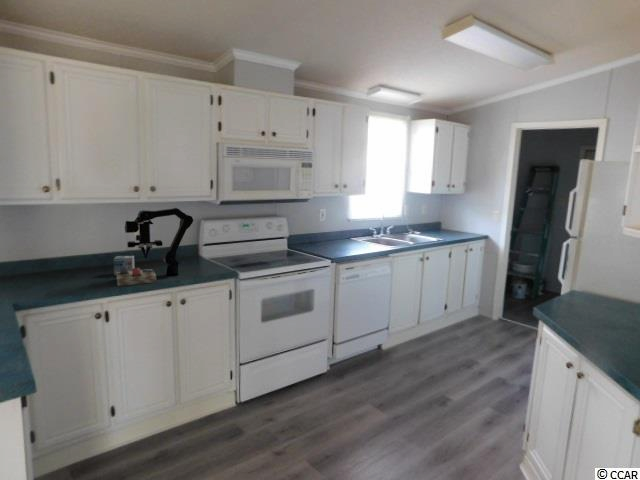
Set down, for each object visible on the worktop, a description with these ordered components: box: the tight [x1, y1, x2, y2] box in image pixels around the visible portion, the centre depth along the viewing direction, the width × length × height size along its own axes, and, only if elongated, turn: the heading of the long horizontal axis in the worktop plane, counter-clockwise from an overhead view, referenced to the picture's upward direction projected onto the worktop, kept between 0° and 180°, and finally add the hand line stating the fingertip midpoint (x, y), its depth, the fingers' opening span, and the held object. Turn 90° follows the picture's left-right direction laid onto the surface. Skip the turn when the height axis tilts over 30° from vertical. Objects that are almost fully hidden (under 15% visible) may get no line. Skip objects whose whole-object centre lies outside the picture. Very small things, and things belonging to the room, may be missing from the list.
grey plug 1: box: [120, 266, 128, 275], centre depth 235 cm, size 4×4×4 cm
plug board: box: [115, 269, 157, 287], centre depth 235 cm, size 20×16×4 cm
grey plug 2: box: [142, 268, 151, 273], centre depth 241 cm, size 4×4×4 cm
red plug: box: [132, 267, 141, 277], centre depth 231 cm, size 4×4×4 cm
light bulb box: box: [113, 255, 136, 276], centre depth 250 cm, size 11×7×11 cm, turn 105°
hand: (145, 258), depth 240 cm, fingers closed
